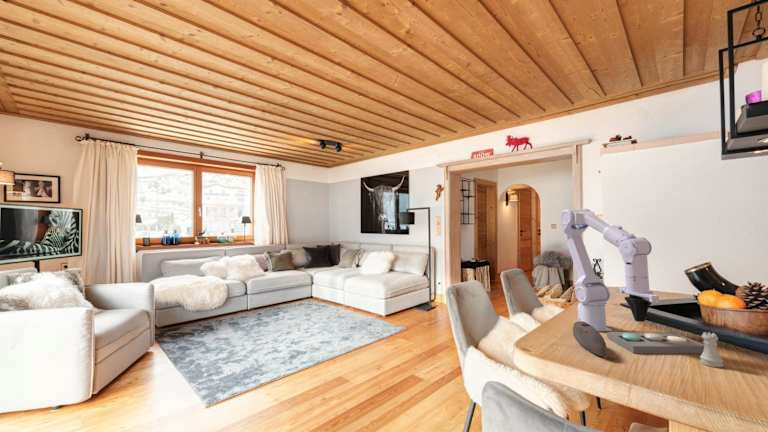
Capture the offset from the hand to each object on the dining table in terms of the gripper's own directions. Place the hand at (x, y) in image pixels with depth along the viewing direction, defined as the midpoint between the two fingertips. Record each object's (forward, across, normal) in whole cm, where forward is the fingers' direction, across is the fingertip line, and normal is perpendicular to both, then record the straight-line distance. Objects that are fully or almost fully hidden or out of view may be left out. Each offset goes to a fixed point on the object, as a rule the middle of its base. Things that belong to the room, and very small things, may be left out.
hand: (639, 321), depth 100 cm
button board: (+7, 0, -4) cm, 8 cm away
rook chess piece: (+8, -14, -8) cm, 18 cm away
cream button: (+7, 0, -10) cm, 12 cm away
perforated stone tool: (+8, -4, +17) cm, 19 cm away
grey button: (+6, 0, -4) cm, 7 cm away
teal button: (+6, 0, +3) cm, 6 cm away
